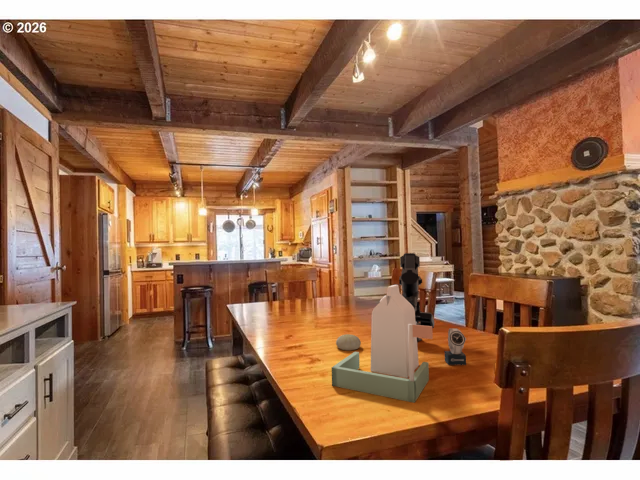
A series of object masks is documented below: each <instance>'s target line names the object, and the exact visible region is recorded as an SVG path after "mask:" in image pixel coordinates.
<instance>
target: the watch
mask: <svg viewBox="0 0 640 480" xmlns="http://www.w3.org/2000/svg"><path fill="white" fill-rule="evenodd" d="M447 335H448V337H447V343H448V348H449V350H445V351H444V361H445V363H446V364H447V365H448V366H467V355H466V354H465V353H464V352H463V349H464V345H465V343H466V341H467V337H466V336H465V335H464V334H463V332H462V330H460V329H458V328H449V329H448V331H447Z"/></svg>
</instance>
